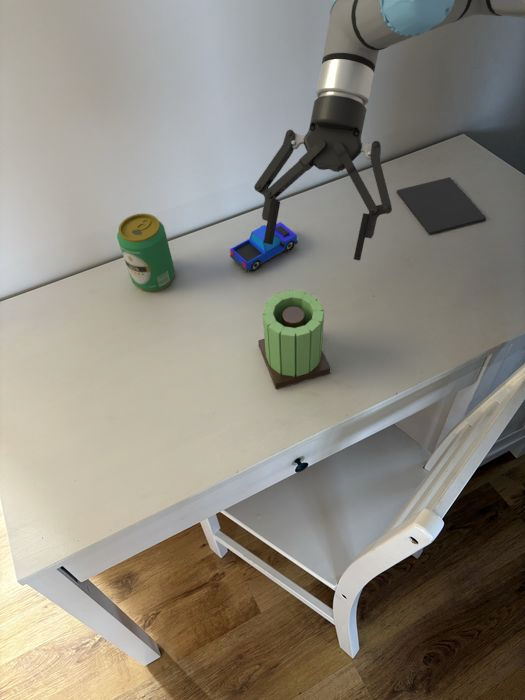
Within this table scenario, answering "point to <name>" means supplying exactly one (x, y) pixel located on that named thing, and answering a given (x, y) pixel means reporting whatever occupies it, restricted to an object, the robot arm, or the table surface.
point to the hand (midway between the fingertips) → (311, 251)
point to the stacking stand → (295, 319)
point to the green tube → (293, 334)
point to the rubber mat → (440, 205)
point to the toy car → (262, 247)
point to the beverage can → (146, 252)
